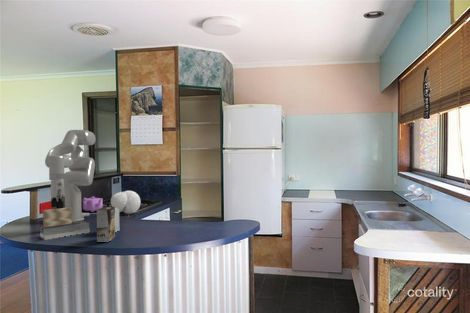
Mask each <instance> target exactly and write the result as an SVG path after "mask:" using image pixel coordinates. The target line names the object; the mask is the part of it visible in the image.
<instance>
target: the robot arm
mask: <svg viewBox="0 0 470 313" xmlns="http://www.w3.org/2000/svg"><path fill="white" fill-rule="evenodd" d="M95 143H96V135H95V133H94V132H92V131H89V130H87V129H70V130H68V131H67V132H66V134H65V136H64V138H63V139H62V142H61V143H59V144H57V145H56V146H54V147H52V148H51V149H49V150H48V152H47V154H46V157H45V159H44V164H45V166H46V167H47V168H48V174H49V175H48V179H49V181H50V196H51V199H50V202H51V203H50V204H51V206H50V207H51V208H55V209H61V208H67V207H71V208H72V223H75V222H82V221H84V220H85V217H89V216H90V213H89V212H82V192H81V189H80V188H79V187H87V186H91V184H93V180H94V174H95V168H96V163H95V162H96V161H95V159H94V158H92V157H88V156H87V157H86V152H85V151H84V149H83V148H82V147H80V146H93V145H95ZM68 154H70V155H68ZM65 169H68V170H69V171H66V172H65ZM63 198H64V199H63ZM63 205H64V206H63Z"/></svg>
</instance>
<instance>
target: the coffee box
mask: <svg viewBox="0 0 470 313" xmlns="http://www.w3.org/2000/svg"><path fill="white" fill-rule="evenodd" d="M114 237H115V238H116V233H115V207H112V206H103V207H102V208H100V209H97V210H96V243H97V242H109V241H111V240H112V239H113V238H114ZM115 238H114V239H115ZM114 239H113V240H114ZM113 240H112V241H113ZM112 241H111V242H112ZM109 243H110V242H109Z"/></svg>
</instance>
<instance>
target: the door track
mask: <svg viewBox="0 0 470 313" xmlns="http://www.w3.org/2000/svg"><path fill="white" fill-rule="evenodd" d="M89 232H91V229H90V222H86V221H84V220H82V221H77V222H72V223H68V224H61V225H55V226H48V227H43V226H42V227H40V233H39V237H40V238H41V239H42V240H44V241H47V240H54V239H59V237H60V238H64V236H66V237H70V235H72V236H76V234H78V235H82V233H84V234H89ZM53 238H54V239H53Z"/></svg>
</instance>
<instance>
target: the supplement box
mask: <svg viewBox="0 0 470 313" xmlns="http://www.w3.org/2000/svg"><path fill="white" fill-rule="evenodd" d="M120 230H121V229H120V213H119V209H115V232H116V233H118V232H117V231H119V232H120Z"/></svg>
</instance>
